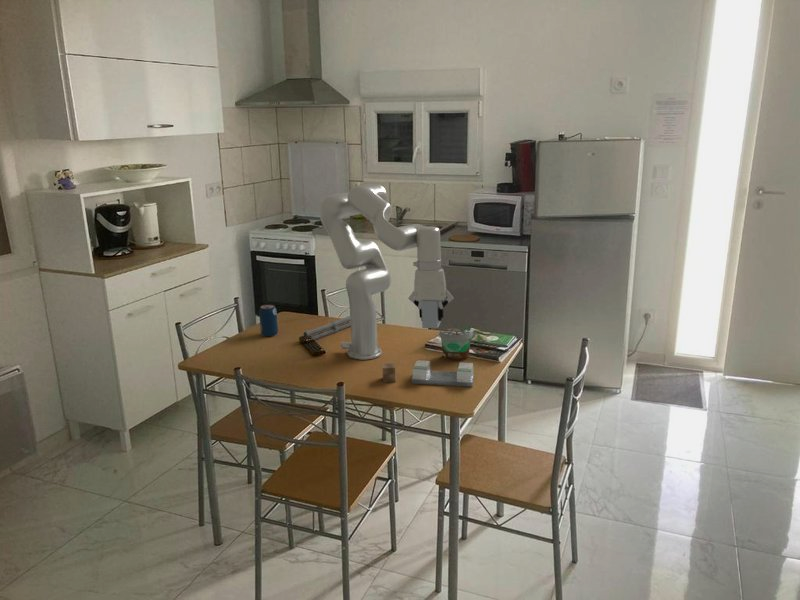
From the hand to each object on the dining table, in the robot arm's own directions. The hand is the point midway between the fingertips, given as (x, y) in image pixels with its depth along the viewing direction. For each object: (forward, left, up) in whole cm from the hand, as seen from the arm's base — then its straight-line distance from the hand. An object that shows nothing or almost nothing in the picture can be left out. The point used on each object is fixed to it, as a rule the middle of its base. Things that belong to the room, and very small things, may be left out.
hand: (431, 319), depth 214 cm
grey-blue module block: (0, 0, -2) cm, 2 cm away
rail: (+4, -2, -20) cm, 21 cm away
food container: (+6, +18, -21) cm, 28 cm away
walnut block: (-14, -4, -21) cm, 25 cm away
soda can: (-72, +34, -21) cm, 82 cm away
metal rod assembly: (-48, +38, -21) cm, 64 cm away
